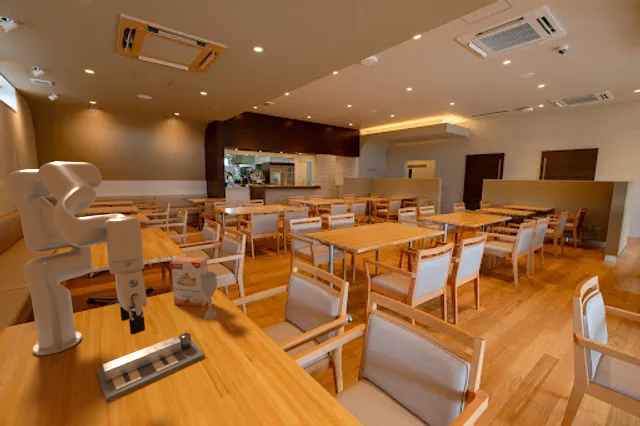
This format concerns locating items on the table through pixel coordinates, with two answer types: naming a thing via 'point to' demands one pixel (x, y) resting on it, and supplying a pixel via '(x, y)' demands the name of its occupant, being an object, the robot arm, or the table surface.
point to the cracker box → (189, 281)
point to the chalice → (209, 290)
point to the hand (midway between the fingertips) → (132, 325)
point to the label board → (148, 372)
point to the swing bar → (145, 356)
